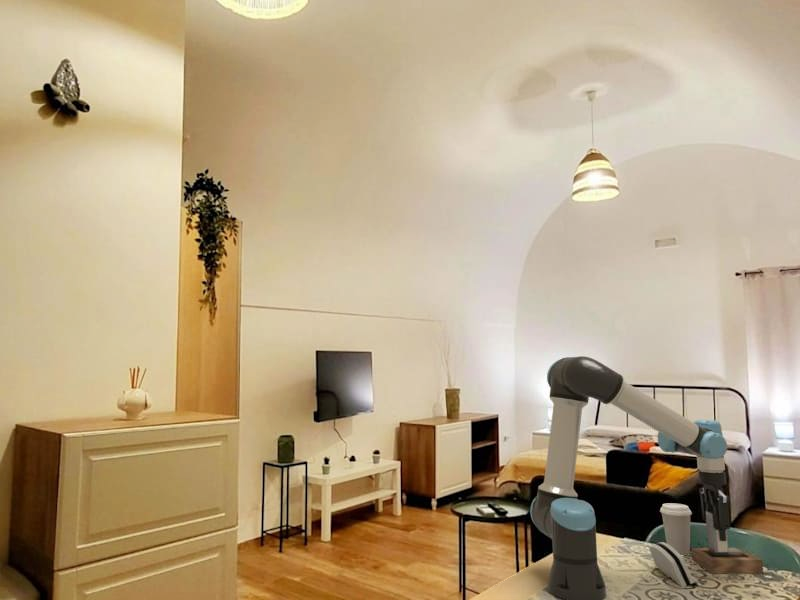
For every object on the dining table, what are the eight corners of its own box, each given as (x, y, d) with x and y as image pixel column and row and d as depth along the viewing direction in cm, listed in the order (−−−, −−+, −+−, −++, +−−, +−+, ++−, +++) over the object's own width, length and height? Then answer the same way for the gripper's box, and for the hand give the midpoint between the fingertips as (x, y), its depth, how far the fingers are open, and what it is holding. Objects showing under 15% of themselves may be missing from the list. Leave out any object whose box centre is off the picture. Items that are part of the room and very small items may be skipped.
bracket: (716, 562, 171) (712, 513, 173) (709, 557, 175) (705, 510, 177) (742, 562, 170) (738, 513, 172) (735, 557, 174) (731, 510, 176)
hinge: (700, 586, 157) (685, 551, 158) (685, 592, 156) (670, 557, 158) (672, 566, 173) (658, 534, 174) (658, 572, 173) (644, 540, 174)
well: (711, 573, 167) (710, 560, 167) (692, 560, 178) (691, 548, 179) (763, 573, 166) (762, 559, 167) (740, 560, 178) (739, 547, 179)
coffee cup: (665, 556, 183) (661, 508, 185) (660, 547, 192) (657, 502, 194) (697, 558, 180) (693, 509, 183) (691, 549, 190) (688, 503, 192)
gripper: (739, 475, 168) (746, 558, 164) (709, 466, 185) (715, 541, 181) (713, 475, 168) (720, 558, 165) (686, 466, 185) (692, 541, 182)
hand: (718, 549), depth 173 cm, fingers closed on bracket, 4 cm apart
